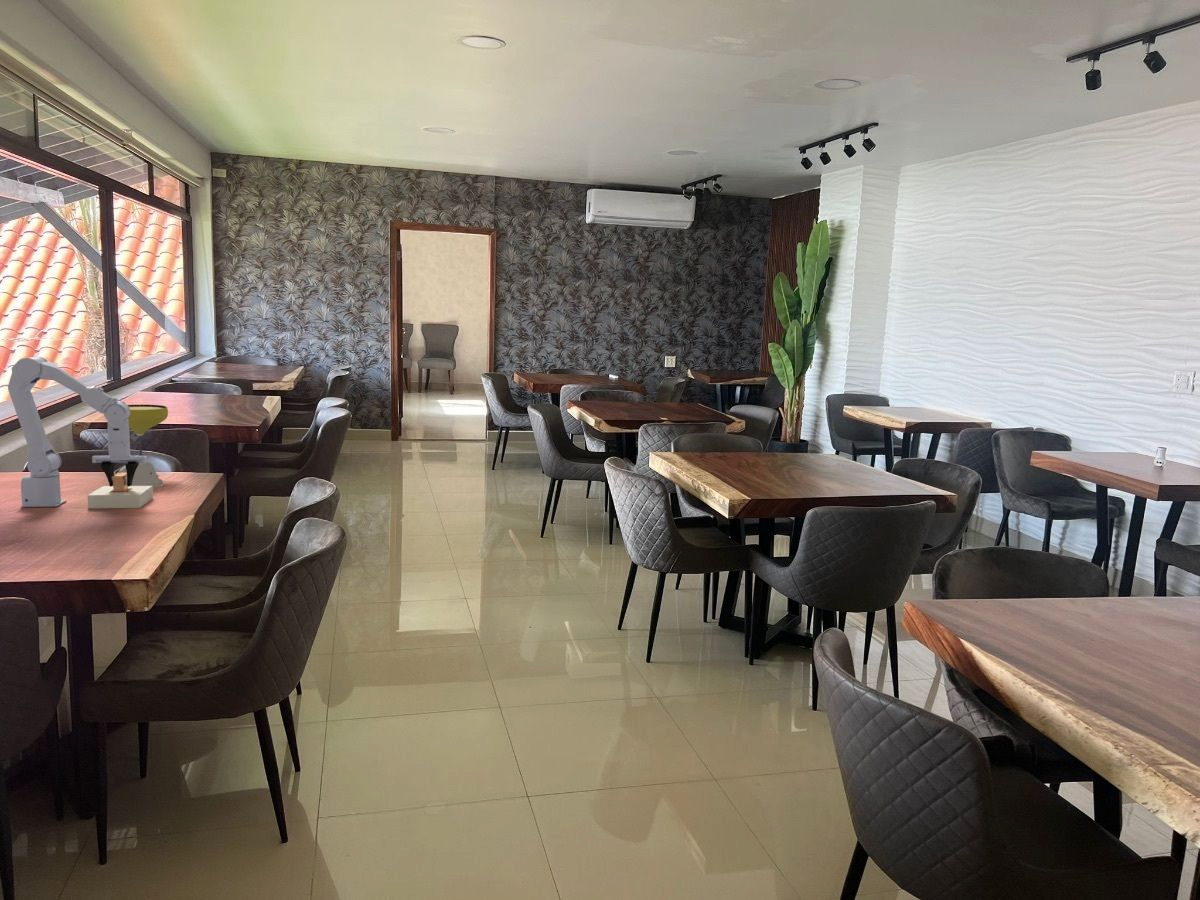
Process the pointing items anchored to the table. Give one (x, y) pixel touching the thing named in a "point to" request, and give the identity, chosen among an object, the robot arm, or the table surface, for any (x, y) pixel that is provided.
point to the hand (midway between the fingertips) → (120, 485)
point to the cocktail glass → (145, 418)
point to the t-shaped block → (120, 482)
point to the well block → (120, 497)
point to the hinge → (143, 475)
